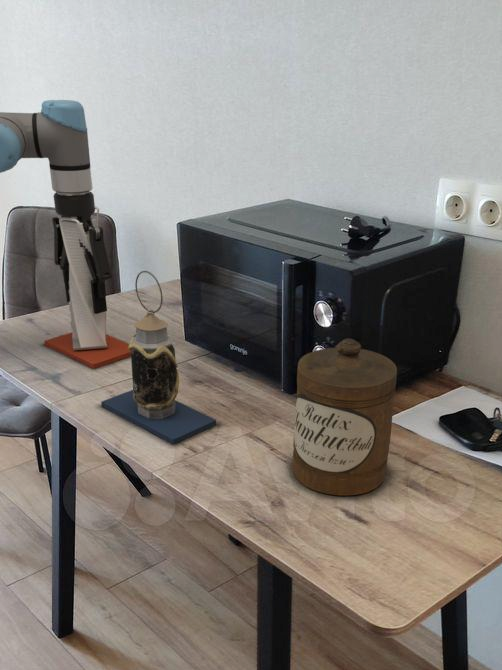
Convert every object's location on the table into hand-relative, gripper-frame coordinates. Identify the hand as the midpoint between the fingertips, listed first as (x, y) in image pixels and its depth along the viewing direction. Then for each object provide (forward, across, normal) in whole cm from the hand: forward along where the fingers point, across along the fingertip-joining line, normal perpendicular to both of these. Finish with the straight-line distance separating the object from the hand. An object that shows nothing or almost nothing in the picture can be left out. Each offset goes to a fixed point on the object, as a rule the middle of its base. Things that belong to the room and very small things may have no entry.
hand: (86, 306), depth 147 cm
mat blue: (+9, -34, +10) cm, 37 cm away
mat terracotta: (+9, 0, 0) cm, 9 cm away
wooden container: (+10, -69, +2) cm, 70 cm away
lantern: (+9, -34, +10) cm, 36 cm away
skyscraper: (+8, -1, 0) cm, 8 cm away
